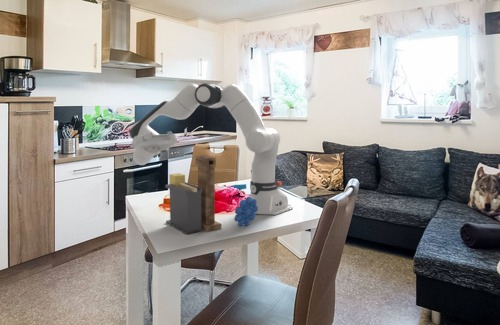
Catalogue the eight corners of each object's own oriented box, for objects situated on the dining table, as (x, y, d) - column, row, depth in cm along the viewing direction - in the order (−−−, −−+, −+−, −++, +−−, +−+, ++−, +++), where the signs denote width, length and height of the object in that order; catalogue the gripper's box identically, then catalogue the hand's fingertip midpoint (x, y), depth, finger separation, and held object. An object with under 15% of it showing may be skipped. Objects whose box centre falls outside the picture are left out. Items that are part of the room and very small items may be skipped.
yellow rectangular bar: (179, 183, 152) (179, 173, 152) (200, 191, 139) (200, 179, 139) (169, 185, 150) (169, 174, 149) (190, 192, 137) (190, 181, 136)
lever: (228, 198, 214) (237, 197, 197) (227, 186, 215) (236, 184, 198) (239, 197, 216) (249, 196, 199) (238, 186, 217) (248, 183, 200)
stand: (205, 221, 156) (204, 154, 151) (221, 228, 146) (221, 157, 142) (190, 224, 151) (190, 155, 147) (206, 232, 142) (206, 159, 138)
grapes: (250, 220, 158) (251, 193, 156) (260, 224, 152) (261, 196, 151) (228, 225, 151) (228, 197, 149) (238, 229, 145) (238, 200, 143)
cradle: (181, 220, 157) (180, 180, 154) (202, 230, 143) (202, 187, 141) (165, 223, 152) (165, 182, 150) (186, 234, 139) (186, 190, 136)
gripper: (127, 141, 168) (136, 127, 158) (167, 139, 181) (179, 126, 171) (130, 154, 167) (140, 140, 157) (171, 150, 180) (182, 138, 169)
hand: (160, 133), depth 164 cm, fingers open, 8 cm apart
